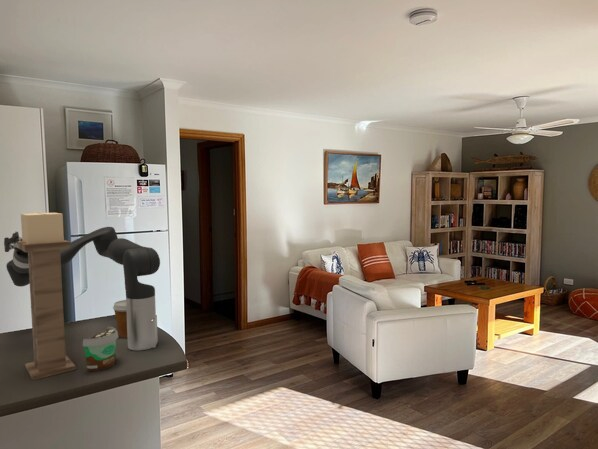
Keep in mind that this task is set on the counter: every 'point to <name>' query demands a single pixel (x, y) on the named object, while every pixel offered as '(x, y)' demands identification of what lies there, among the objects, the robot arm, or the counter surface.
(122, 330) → the disposable coffee cup
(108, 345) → the food container
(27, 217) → the wooden mallet
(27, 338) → the counter surface
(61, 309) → the walnut stand
